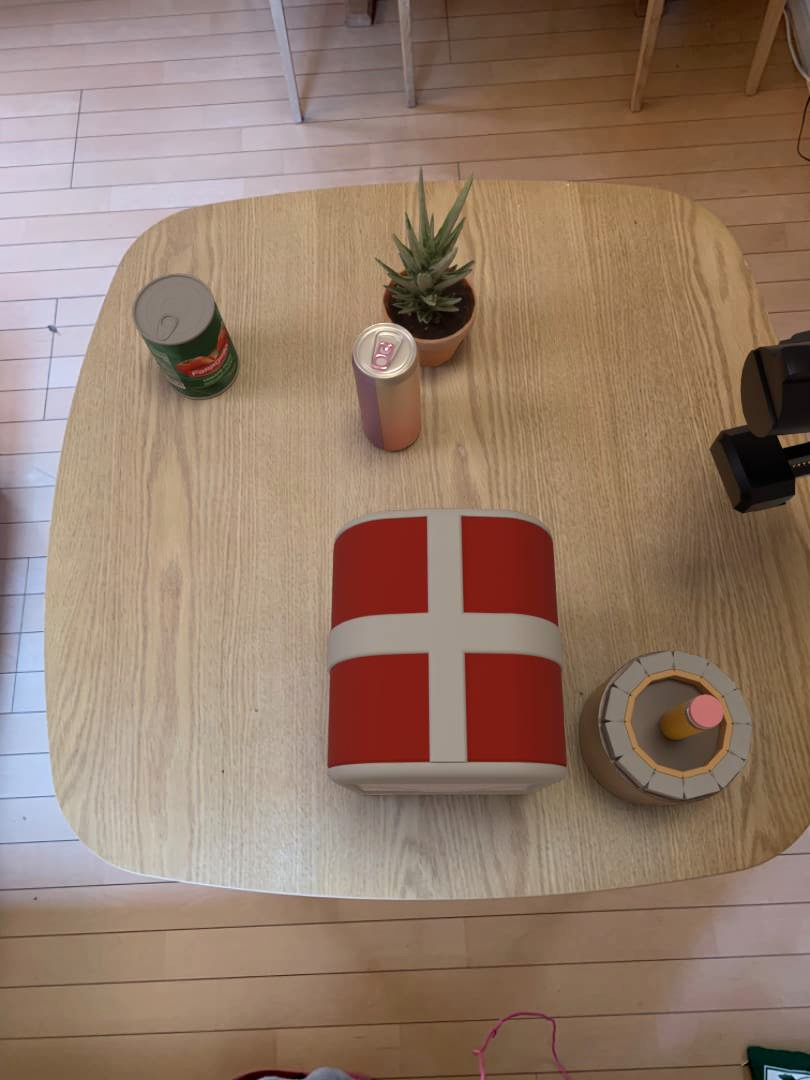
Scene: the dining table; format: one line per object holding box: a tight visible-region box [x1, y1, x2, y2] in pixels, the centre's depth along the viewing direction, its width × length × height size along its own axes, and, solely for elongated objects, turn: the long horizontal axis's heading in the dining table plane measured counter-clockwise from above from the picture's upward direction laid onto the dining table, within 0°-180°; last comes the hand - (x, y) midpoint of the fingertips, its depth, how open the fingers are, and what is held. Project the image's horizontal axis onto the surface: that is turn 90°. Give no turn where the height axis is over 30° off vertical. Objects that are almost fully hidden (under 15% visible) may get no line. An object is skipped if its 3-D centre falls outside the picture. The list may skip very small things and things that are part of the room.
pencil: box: [660, 695, 723, 740], centre depth 64 cm, size 2×2×8 cm
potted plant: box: [373, 164, 478, 367], centre depth 79 cm, size 10×10×25 cm
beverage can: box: [351, 322, 422, 451], centre depth 81 cm, size 6×6×15 cm
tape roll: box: [601, 650, 754, 800], centre depth 67 cm, size 11×11×2 cm
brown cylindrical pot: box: [578, 650, 750, 807], centre depth 72 cm, size 12×12×10 cm
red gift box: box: [326, 507, 568, 796], centre depth 66 cm, size 16×18×27 cm
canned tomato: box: [131, 272, 240, 400], centre depth 86 cm, size 8×8×11 cm
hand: (798, 487), depth 71 cm, fingers open, 9 cm apart
